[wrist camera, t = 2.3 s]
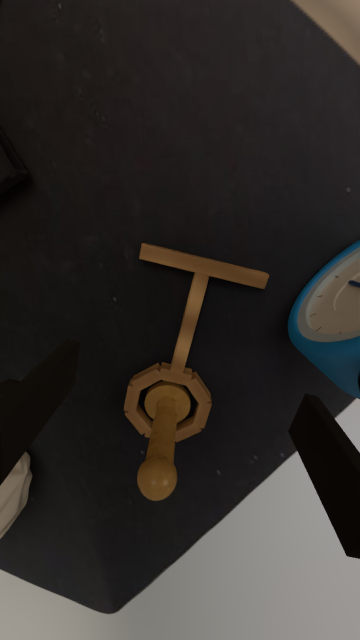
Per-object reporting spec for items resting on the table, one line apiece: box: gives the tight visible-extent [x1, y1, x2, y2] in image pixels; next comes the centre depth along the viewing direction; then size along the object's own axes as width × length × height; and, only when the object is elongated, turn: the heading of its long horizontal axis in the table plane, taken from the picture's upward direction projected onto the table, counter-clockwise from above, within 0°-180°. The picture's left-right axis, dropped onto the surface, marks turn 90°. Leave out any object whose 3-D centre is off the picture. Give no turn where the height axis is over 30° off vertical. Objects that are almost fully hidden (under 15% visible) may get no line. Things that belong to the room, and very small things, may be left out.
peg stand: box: [137, 381, 191, 501], centre depth 26 cm, size 5×5×12 cm
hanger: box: [124, 243, 269, 442], centre depth 29 cm, size 21×12×1 cm, turn 167°
